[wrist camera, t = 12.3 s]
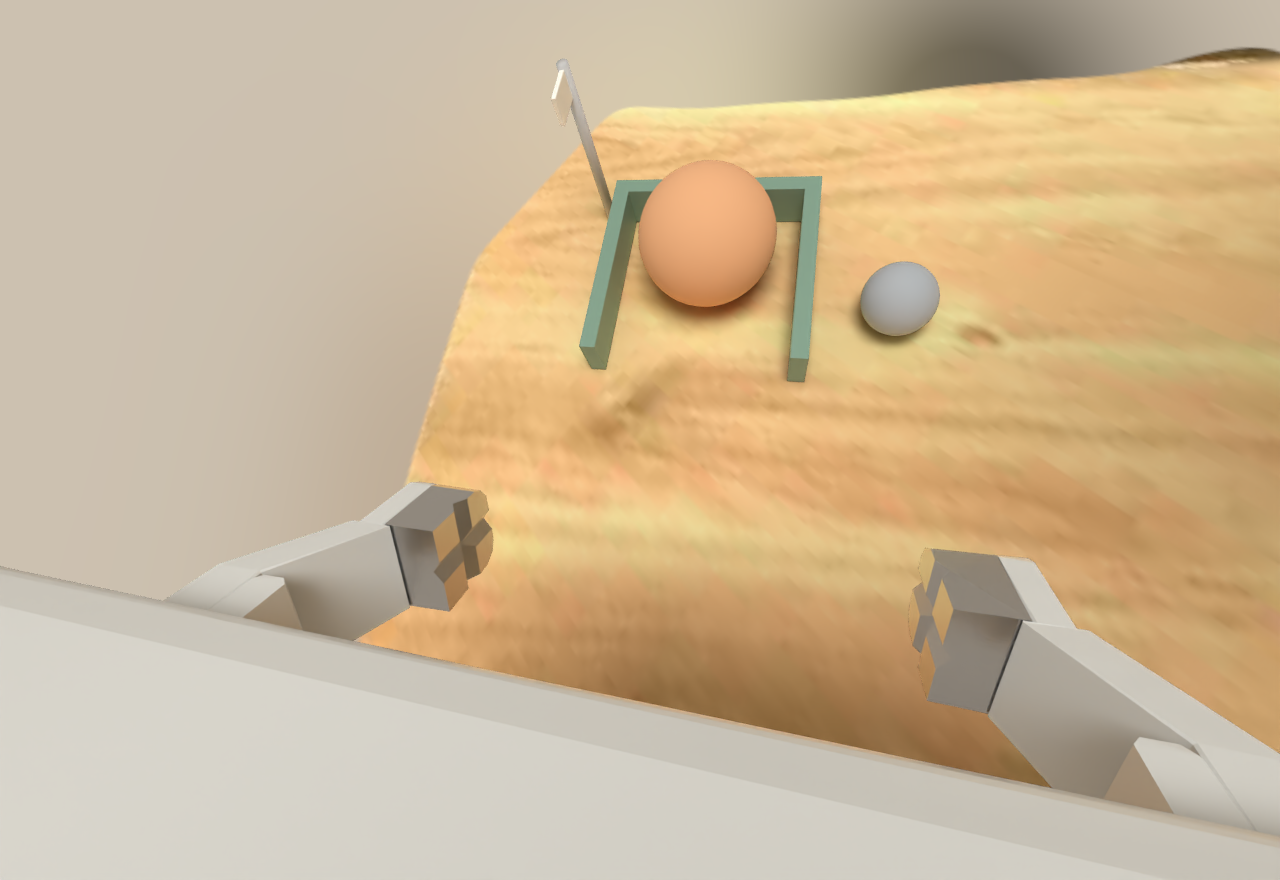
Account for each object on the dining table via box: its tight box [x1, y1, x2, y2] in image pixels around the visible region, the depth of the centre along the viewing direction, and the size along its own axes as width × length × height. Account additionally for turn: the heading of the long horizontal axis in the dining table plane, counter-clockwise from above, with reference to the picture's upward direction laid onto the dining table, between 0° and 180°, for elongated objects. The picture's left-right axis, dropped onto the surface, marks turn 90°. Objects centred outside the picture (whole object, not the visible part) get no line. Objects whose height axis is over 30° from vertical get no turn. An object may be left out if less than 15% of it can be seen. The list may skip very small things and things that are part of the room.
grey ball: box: [860, 262, 940, 336], centre depth 38 cm, size 5×5×5 cm
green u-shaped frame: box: [551, 59, 822, 382], centre depth 38 cm, size 16×18×14 cm
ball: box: [639, 160, 777, 307], centre depth 40 cm, size 10×10×10 cm
